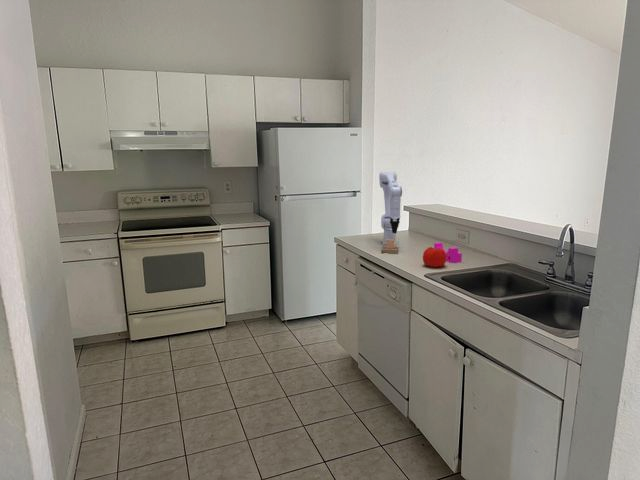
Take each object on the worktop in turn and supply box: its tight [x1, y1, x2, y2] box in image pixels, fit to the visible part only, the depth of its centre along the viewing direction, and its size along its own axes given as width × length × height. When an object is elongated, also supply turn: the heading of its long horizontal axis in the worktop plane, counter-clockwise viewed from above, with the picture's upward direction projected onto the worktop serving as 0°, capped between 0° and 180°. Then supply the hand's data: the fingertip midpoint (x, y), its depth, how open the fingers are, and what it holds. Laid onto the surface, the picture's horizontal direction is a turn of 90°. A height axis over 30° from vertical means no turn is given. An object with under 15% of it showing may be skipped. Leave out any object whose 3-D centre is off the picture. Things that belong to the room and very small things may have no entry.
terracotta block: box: [385, 238, 396, 249], centre depth 250 cm, size 4×4×5 cm
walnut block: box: [381, 245, 400, 255], centre depth 251 cm, size 9×9×3 cm
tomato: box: [422, 246, 447, 269], centre depth 221 cm, size 11×12×9 cm
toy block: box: [433, 242, 463, 264], centre depth 235 cm, size 15×6×8 cm, turn 21°
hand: (394, 231), depth 255 cm, fingers open, 7 cm apart
